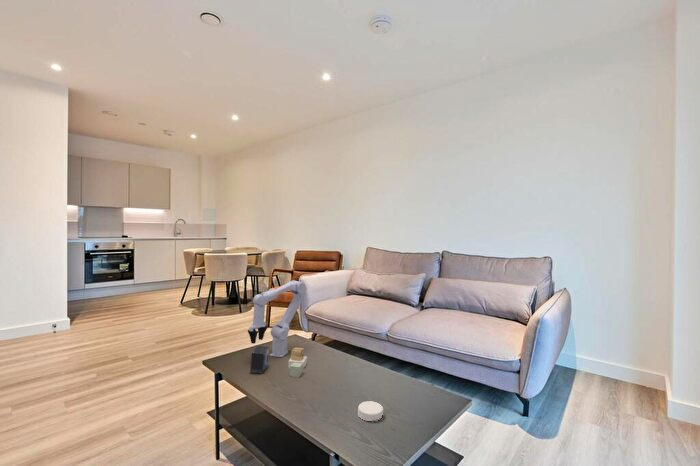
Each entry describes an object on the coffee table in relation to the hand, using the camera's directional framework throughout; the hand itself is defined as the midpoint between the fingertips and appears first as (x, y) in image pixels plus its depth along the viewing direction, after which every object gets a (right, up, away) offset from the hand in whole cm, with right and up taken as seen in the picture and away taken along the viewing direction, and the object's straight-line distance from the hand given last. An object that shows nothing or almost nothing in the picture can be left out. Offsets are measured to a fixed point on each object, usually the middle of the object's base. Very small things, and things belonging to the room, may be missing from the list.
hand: (256, 341), depth 181 cm
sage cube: (+24, -11, -16) cm, 31 cm away
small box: (+5, -11, -12) cm, 17 cm away
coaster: (+59, -13, -51) cm, 79 cm away
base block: (+23, -12, -5) cm, 26 cm away
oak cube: (+23, -8, -5) cm, 25 cm away
